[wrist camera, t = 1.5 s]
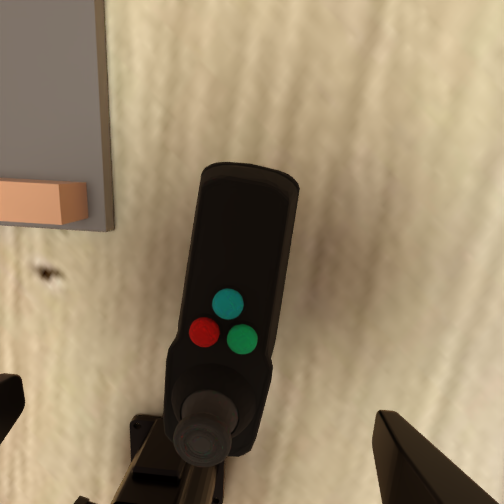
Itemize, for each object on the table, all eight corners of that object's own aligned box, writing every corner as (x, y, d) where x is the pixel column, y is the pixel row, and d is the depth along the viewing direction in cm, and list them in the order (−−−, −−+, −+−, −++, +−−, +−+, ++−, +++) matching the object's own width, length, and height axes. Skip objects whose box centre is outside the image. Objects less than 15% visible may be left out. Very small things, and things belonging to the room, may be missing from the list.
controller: (197, 354, 22) (134, 495, 13) (223, 159, 19) (168, 150, 10) (263, 366, 22) (249, 519, 13) (300, 171, 19) (320, 175, 10)
